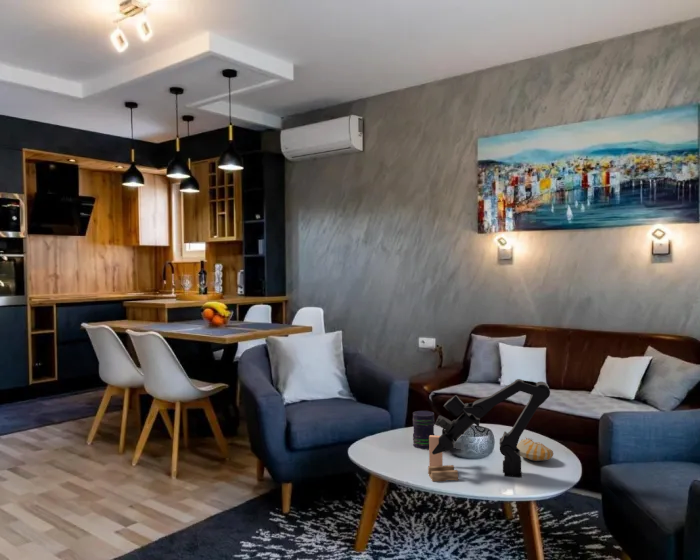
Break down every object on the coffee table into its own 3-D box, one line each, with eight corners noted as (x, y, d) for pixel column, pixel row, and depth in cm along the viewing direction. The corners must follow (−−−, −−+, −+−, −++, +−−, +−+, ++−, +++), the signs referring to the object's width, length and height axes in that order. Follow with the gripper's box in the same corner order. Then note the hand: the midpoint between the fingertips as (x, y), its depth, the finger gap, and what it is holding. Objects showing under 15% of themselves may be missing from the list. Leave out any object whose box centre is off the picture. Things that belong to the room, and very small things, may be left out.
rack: (452, 472, 226) (452, 464, 226) (458, 480, 218) (458, 472, 218) (428, 473, 225) (428, 465, 225) (432, 481, 217) (432, 473, 217)
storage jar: (432, 442, 266) (431, 410, 265) (437, 448, 256) (436, 415, 256) (411, 442, 265) (410, 411, 265) (415, 449, 255) (414, 416, 255)
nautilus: (513, 449, 254) (548, 453, 251) (516, 463, 233) (554, 467, 230) (514, 432, 255) (549, 435, 251) (516, 443, 234) (555, 447, 230)
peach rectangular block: (442, 467, 232) (442, 435, 232) (441, 469, 230) (441, 437, 229) (430, 466, 233) (429, 435, 233) (429, 468, 231) (429, 436, 231)
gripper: (449, 404, 239) (423, 428, 242) (444, 415, 221) (416, 441, 224) (468, 424, 237) (442, 448, 240) (465, 437, 219) (436, 463, 222)
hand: (434, 449), depth 231 cm, fingers open, 9 cm apart
